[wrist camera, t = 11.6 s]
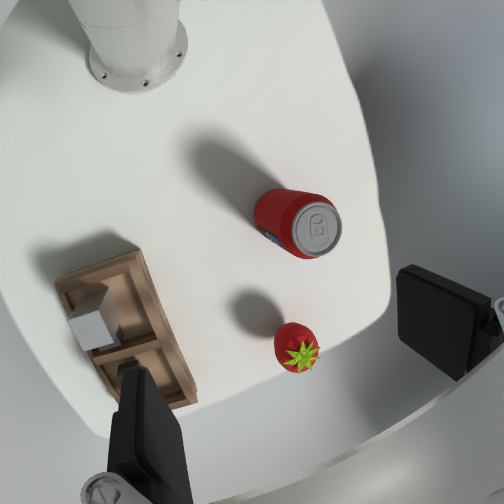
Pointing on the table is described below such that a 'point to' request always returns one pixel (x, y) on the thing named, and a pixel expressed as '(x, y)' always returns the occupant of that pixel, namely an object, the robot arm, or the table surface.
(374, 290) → the table surface
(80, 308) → the grey block
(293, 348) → the strawberry
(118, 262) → the wooden divided tray
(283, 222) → the beverage can
